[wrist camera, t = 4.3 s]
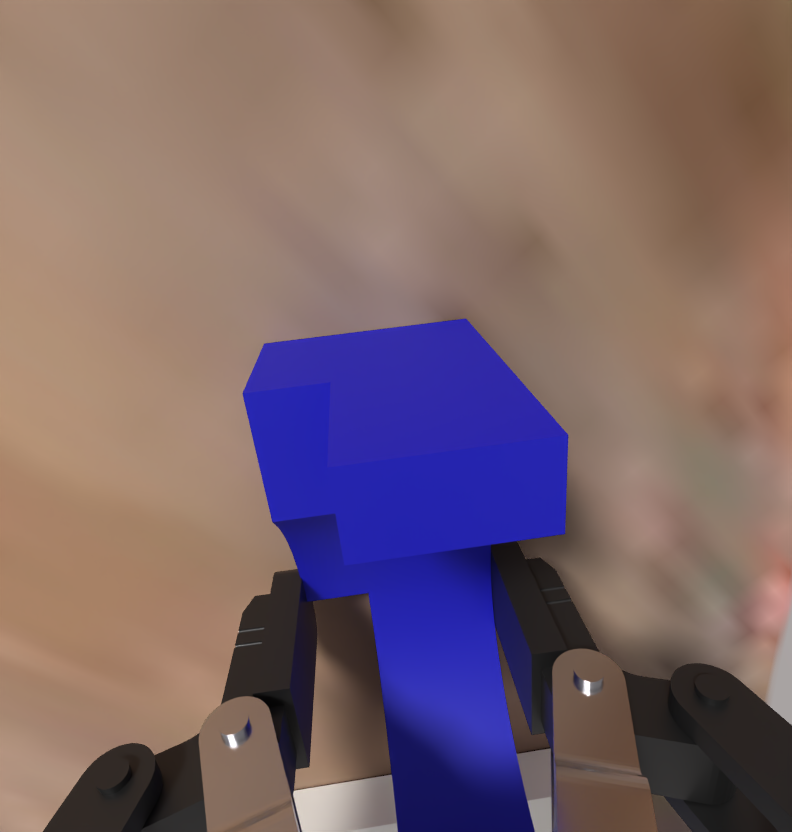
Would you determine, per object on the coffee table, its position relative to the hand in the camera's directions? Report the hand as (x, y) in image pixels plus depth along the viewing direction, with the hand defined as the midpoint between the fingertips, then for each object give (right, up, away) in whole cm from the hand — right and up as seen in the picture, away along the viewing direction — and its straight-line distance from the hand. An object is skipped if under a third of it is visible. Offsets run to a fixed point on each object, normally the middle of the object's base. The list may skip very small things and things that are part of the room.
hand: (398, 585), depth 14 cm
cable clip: (0, +1, +1) cm, 1 cm away
